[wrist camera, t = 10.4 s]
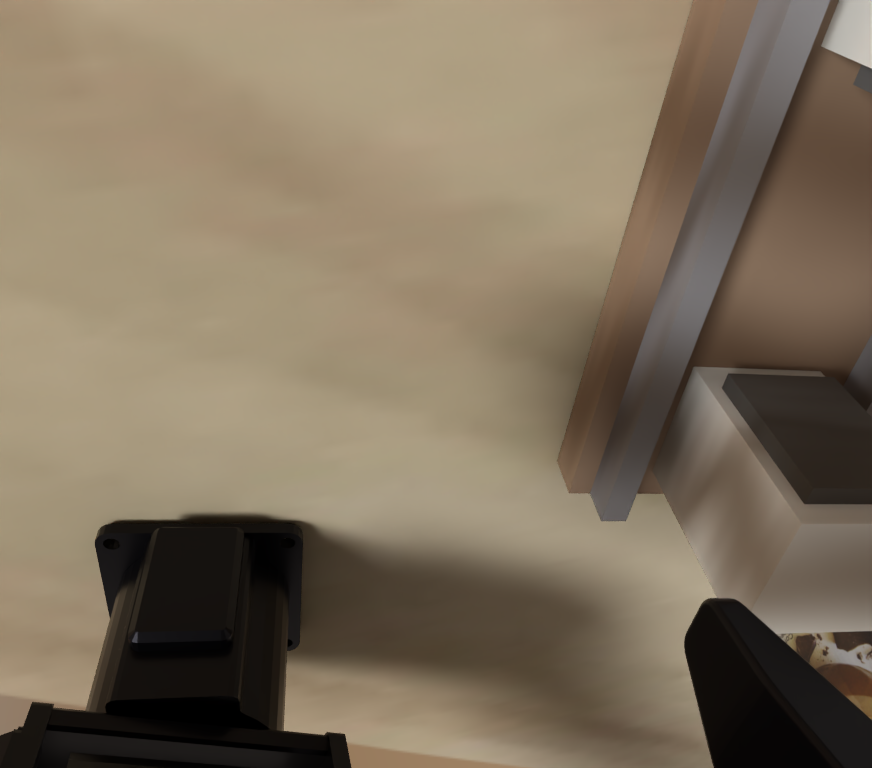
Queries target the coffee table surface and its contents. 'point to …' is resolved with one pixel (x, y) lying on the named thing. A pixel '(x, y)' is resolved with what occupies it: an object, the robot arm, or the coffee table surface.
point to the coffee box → (840, 661)
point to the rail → (747, 321)
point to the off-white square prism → (853, 37)
